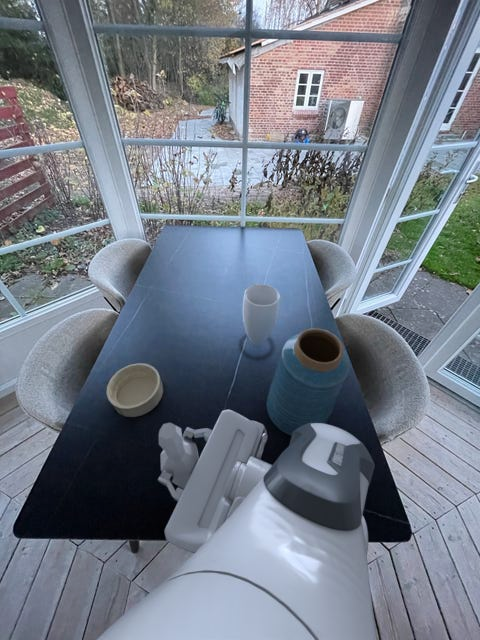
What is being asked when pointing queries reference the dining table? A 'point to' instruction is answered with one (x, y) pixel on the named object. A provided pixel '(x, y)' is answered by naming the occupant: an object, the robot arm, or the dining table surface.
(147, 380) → the bowl
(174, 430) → the faceted bottle
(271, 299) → the cup
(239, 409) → the dining table surface
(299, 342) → the vase
